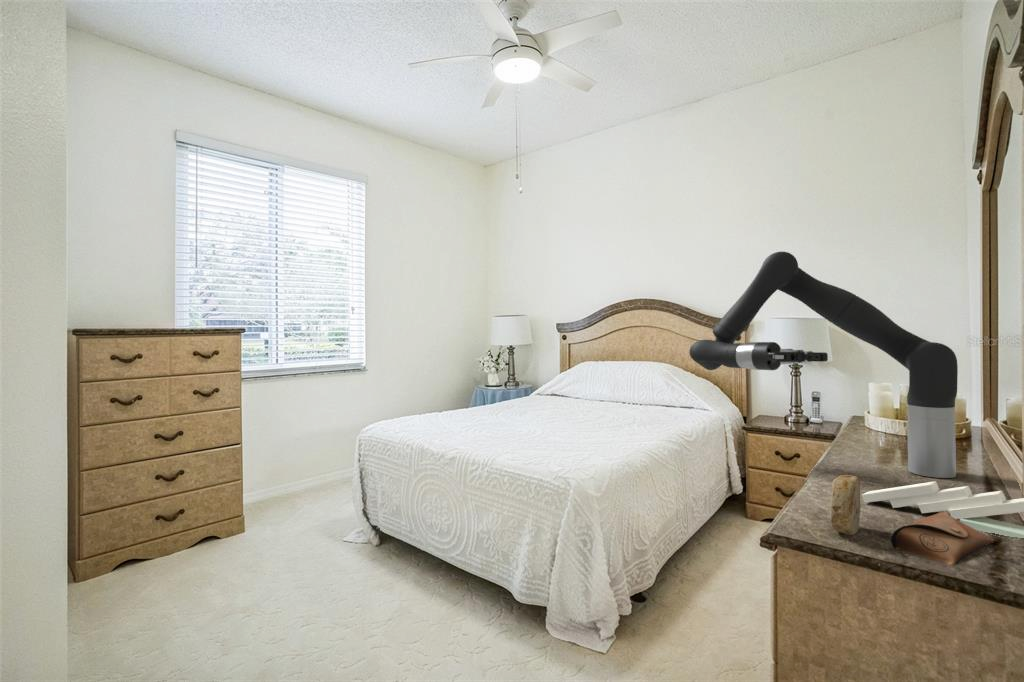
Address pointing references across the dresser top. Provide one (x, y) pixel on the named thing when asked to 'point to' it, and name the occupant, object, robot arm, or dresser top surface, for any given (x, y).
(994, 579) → the dresser top surface
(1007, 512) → the domino
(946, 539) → the sunglasses case
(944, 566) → the dresser top surface
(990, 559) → the dresser top surface
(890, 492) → the domino
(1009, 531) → the domino
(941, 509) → the domino
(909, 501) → the domino
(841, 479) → the stone disc
